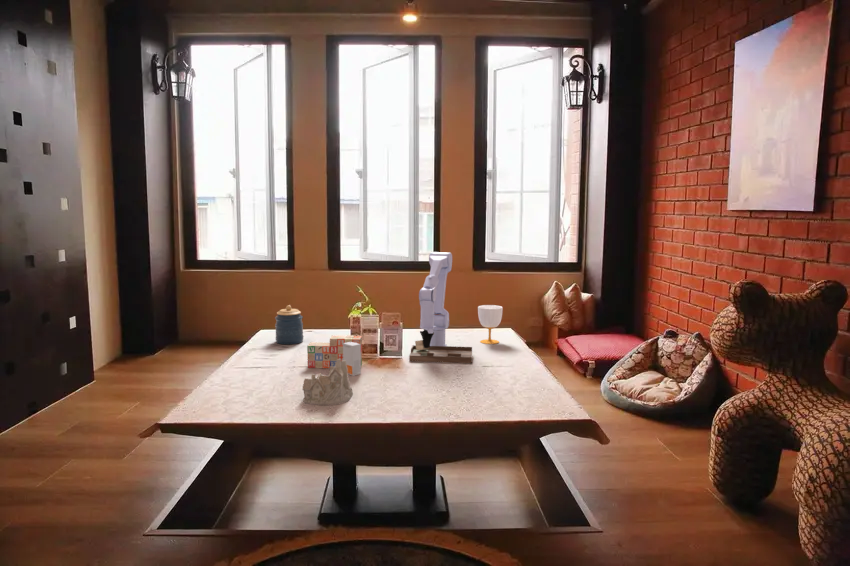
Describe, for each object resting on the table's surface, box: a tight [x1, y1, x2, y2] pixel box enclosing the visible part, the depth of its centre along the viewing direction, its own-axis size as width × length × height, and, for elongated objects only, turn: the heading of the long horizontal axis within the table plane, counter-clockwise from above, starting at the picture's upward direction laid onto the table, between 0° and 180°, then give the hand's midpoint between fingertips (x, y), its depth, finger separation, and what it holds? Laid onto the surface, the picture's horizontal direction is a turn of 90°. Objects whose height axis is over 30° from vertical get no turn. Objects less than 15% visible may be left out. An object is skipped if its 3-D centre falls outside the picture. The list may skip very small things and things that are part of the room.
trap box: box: [408, 344, 473, 364], centre depth 259 cm, size 12×26×4 cm, turn 85°
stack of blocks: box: [306, 334, 363, 369], centre depth 246 cm, size 21×6×12 cm, turn 88°
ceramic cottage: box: [302, 359, 354, 406], centre depth 207 cm, size 16×16×15 cm
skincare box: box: [343, 342, 362, 377], centre depth 236 cm, size 6×4×12 cm
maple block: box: [414, 339, 429, 350], centre depth 263 cm, size 4×4×4 cm
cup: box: [477, 304, 504, 345], centre depth 290 cm, size 12×12×17 cm
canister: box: [274, 304, 304, 345], centre depth 289 cm, size 13×13×18 cm
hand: (426, 347), depth 261 cm, fingers closed, pressing on maple block
